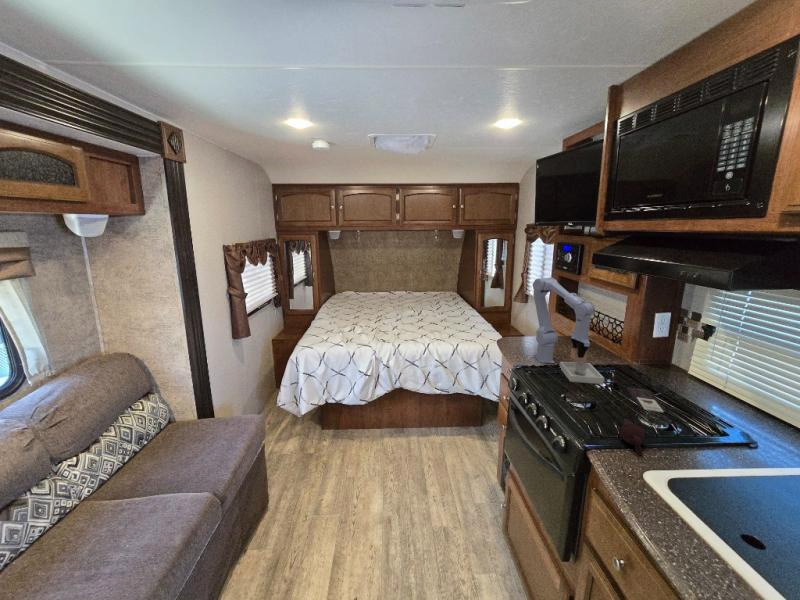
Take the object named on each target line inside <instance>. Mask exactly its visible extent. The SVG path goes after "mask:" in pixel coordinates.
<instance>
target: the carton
mask: <svg viewBox="0 0 800 600" xmlns="http://www.w3.org/2000/svg"><path fill="white" fill-rule="evenodd" d="M569 356H570V357H569V358H571V359H572V360H573V361H587V356H588V350H587V351H586V353H585V355H584V357H583V358H578V349H577V348H573V347H571V348H570V355H569Z"/></svg>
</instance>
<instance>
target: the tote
mask: <svg viewBox="0 0 800 600" xmlns="http://www.w3.org/2000/svg"><path fill="white" fill-rule="evenodd" d="M576 363H577V361H575V362H571V361H560V362H559V366H560V367H559V368H561V369H560V370H561V371H562V373H563V374H564V375H565V377H566V378H567V379H568V381H569V382H570V383H583V384H596V385H597V384H598V385H604V382H605V377H604V376H603V375H602V374H601V372H599V371H598V370H597V369H596V368H595V367H594V366H593V365H592V364H591V363H590V362H586V363H587V368H586V375H585V376H581V375H577V374H576V373H575V370H576Z"/></svg>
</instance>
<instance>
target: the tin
mask: <svg viewBox="0 0 800 600" xmlns="http://www.w3.org/2000/svg"><path fill="white" fill-rule="evenodd" d="M587 363H588V362H585V361H583V360H576V370H575V373H576V374H577V375H581V376H585V375H586V368H587Z"/></svg>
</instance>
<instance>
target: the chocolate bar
mask: <svg viewBox="0 0 800 600" xmlns="http://www.w3.org/2000/svg"><path fill="white" fill-rule="evenodd" d="M625 389H626V391H627V392H628V394H629V395H630V396H631V398H632V400H633V401H634V403H635V404H636V405H637V407H638V408H639V410H645V411H649V412H654V413H655V412H657V413H662V414H669V412H668V410H667V409H666V408H665V407H664V406H663V404H662V402H661V401H660V400H659V399H658V398H657V396H655V394H654V393H653V392H652V390H651V389H645V388H638V387H631V386H630V387H629V386H625Z"/></svg>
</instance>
